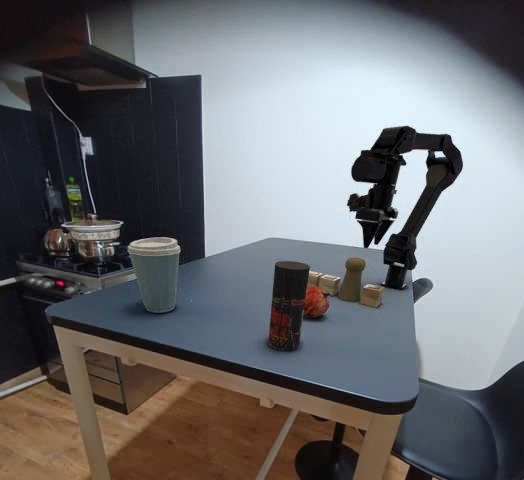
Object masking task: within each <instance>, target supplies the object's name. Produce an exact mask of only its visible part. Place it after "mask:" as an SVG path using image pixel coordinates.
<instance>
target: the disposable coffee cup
mask: <svg viewBox="0 0 524 480" xmlns="http://www.w3.org/2000/svg"><path fill="white" fill-rule="evenodd" d="M181 251H182V250H181V246H180V245H179V244H178V240H177V239H176V238H173V237H163V236H162V237H148V238H142V239H137V240H134V241H132V242H130V243H129V245H127V253H128V254H129V257H130V261H131V264H132V268H133V272H134V275H135V279H136V282H137V285H138V288H139V292H140V296H141V299H142V303H143V306H144V307H145V310H146V311H148V312H150V313H157V314H163V313H168V312H171V311H173V310H174V309H175V307H176V304H177V293H178V292H177V291H178V278H179V265H180V253H181Z"/></svg>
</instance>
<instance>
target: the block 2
mask: <svg viewBox="0 0 524 480" xmlns="http://www.w3.org/2000/svg"><path fill="white" fill-rule="evenodd" d="M341 279H342V277H340V276H335V275H330V274H324V275H323V276H322V277H320V281H319V287H318V288H321V289H323V290H324V291H325V293H330V294H331V295H332V296H330V295H329V296H330V297H333V296H335V295H337V294H339V292H340V284H341ZM329 296H328V297H329Z"/></svg>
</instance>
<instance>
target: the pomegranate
mask: <svg viewBox="0 0 524 480" xmlns="http://www.w3.org/2000/svg"><path fill="white" fill-rule="evenodd" d="M329 295H330V297H333V296H332V295H331V294H330V293H325V291H324V290H323V289H321V288H318V287H315V286H309V287H307V291H306V299H305V306H304V313H303V316H305V317H307V318H311V319H314V318H315V319H316V318H318V317H320V316H323V315H324V314H326V313H327V311H328V310H329V307H330V302H331V301H330V299H329V298H328V297H329Z"/></svg>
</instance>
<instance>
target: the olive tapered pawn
mask: <svg viewBox="0 0 524 480" xmlns="http://www.w3.org/2000/svg"><path fill="white" fill-rule="evenodd" d="M366 263H367V262H366V261H365V259H364V258H361V257H357V256H356V257H355V256H354V257H349V258H347V259H346V261H345V264H344V265H345V274H344V276H343V280H342V283H341V286H340V287H339V291H338V295H337V297H338V299H339V300H342V301H346V302H360V299H361V291H362V290H361V287H362V275H363V271H364V270H365V269H366V266H367V265H366Z"/></svg>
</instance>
